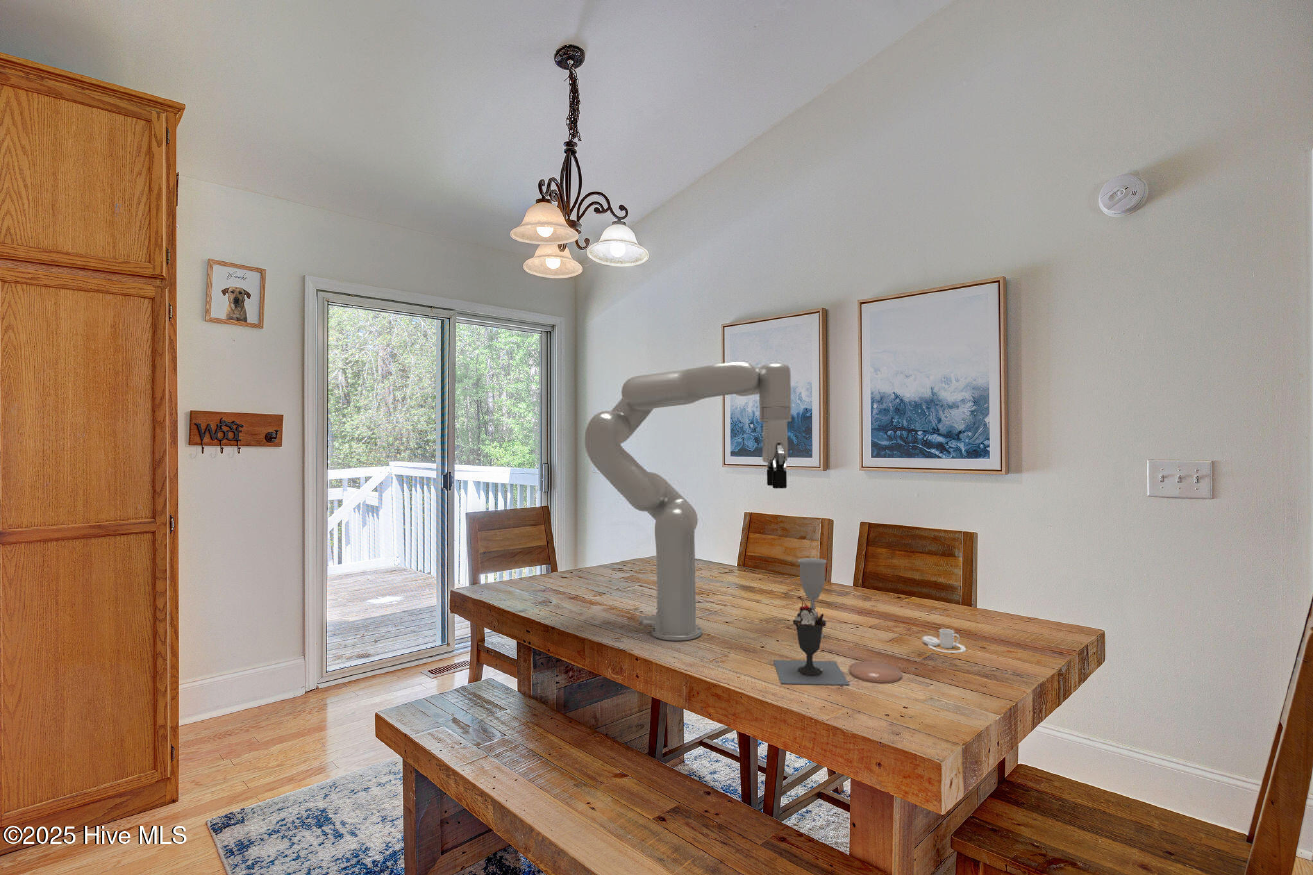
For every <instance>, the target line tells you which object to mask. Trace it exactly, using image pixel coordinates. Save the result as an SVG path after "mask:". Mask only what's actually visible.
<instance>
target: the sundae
mask: <svg viewBox="0 0 1313 875" xmlns="http://www.w3.org/2000/svg"><path fill="white" fill-rule="evenodd" d="M797 598H798V599H799V600H801V604H802V605H801V606H800V607H799V612H797V613H796V616H795V617H794V619H793V620H792V624H793V625H794V626H795V627H796V632H797V633H796V634H797V639H798V646H799V648H800V650H801V651H802V652H803V653H805V655H806V661H807V662H806V665H805V666H803V667H799V668H798V669H797V671H798V672H799V673H801V674H804V675H809V676H815V675H820V674H821V673H822V670H821V669H819V668H817V667H814V665H813V661H814V660H813V656H814V655H815V654H816V653H817V652H818V651H819V649H820V648H821V647H820V646H821V642H822V638H821V634H823V628H824V627H827V626H826V625H827V620H825V619H824V613H821V614H820V615H819V614H818V611H817V610H816V609H815V610H814V609H813V608H810V606H809V605H808V604H806V601H805V600H804V599H803V597H802V596H799V595H798V596H797Z"/></svg>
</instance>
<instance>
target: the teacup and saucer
mask: <svg viewBox="0 0 1313 875" xmlns="http://www.w3.org/2000/svg"><path fill="white" fill-rule="evenodd" d="M938 632H939V634H938V635H939V639H938V638H936V637H935V636H931V635H925V636H923V637H922V641H923V643H924V644H926V645H927V646H928V647H929V648H930V649H933V651H934V650H935V651H938V652H943V653H951V654H952V653H953V654H956V653H957V654H958V653H963V652H965V651H966V650H967V648H966V647H965V646H964V645H963V644H960V643H959V641H960V636H959V634H957V633H955V630H954V629H950V628H940V629H938ZM955 636H956V637H957V640H956V642H955ZM939 645H940V646H941V647H942V648H944V649H952V648H954V647H955V646H958V647H959V648H960V649H959V650H943V649H939V648H936V647H938V646H939Z"/></svg>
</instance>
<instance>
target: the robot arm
mask: <svg viewBox="0 0 1313 875" xmlns="http://www.w3.org/2000/svg"><path fill="white" fill-rule="evenodd" d="M791 378H792V376H791V368H790V366H789V365H788V364H785V363H767V364H763V365H761V366H756V367H755V366H754V365H753V364H751V363H749V362H747V361H733V362H725V363H724V362H723V363H717V364H712V365H711V364H710V365H704V366H699V367H693V368H687V369H680V370H674V371H665V372H657V373H651V374H641V375H637V376H632V377H630V378H627V379H626V381H625V382H624V383H623V385H622V387H621V398H620V399H619V400H618V402H617V403H616V405H615V406H614V407H613V408H612V409H611V410H605V411H604V410H603V411H600V412H598V413H596V414H594V415H593V416H592V418H590V419H589V421H588V423H587V426H586V428H585V432H584V433H585V434H584V447H585V451H586V454H587V456H588V458H589V460H590V462H591V463H592V465H593V466H594V467H595V468H596V470H598V472H599V473H600V474H601V475H602V476H603V477H604V478H605V479H606V480H607V481H608V482H609V483H610V484H611V485H612V486H613V487H614V489H615V490H616V491H617V492H618V493H620V495H622V497H623V498H624V499H625V500H626V502H628V503H629V504H630V506H632V507H633V508H634V509H635V510H637V511H640V512H643V513H645V512H646V513H648V515H650V516H651V518H653V520H655V524H654V538H655V539H654V541H655V554H656V555H655V556H656V557H655V559H656V563H655V564H656V568H655V569H656V612H655V614H651V615H650V616H649V615H638V616H639V617H638V623H639V625H642V626H645V627H648V626H651V628H650V634H651V636H652V637H654V638H656V639H659V640H663V641H674V642H675V641H676V642H678V641H690V640H693V639H696V638H699V637H701V635H703V628H702V627H701V626H700V625H699V624H697V619H696V618H697V617H696V616H697V615H696V613H697V610H696V608H697V607H696V606H697V604H696V603H697V602H696V596H697V595H696V591H697V590H696V549H695V548H696V544H695V543H696V542H695V532H696V531H695V530H696V529H697V526H698V520H699V519H698V514H697V512H696V510H695V508H694V507H693V506H692V504H690V502H689V501H688V500H687V499H686V498H685V497H684V496H683V495H682V494H681V493H680V492H679V491H678V490H677V489H676V488H674V486H673V485H672V484H671V483H670V482H668V480H666V479H665V478H664V477H663V476H662V475H660V474H658V473H656V472H651V471H648V470H646V469H645V468H644V467H643V466H642V465H641V464H640V463H639V462H638V461H637V460H636V459H635V457H633V456H632V454H630V453H629V452H628V451H626V449H625V448H624V447H623V446H622V445H621V444H624V443H626V441H627V440H629V439H630V438H631V437H632V435H633V434H635V432H636V431H637V429H639V427H640V426H641V425H642V424H643V422H644V421H645V420H646V419H647V418H648V417H649V415H650V414H651V413H652V412H653V410H654V409H659V408H666V407H667V408H669V407H675V406H685V405H689V404H694V403H695V402H698V401H700V400H704V399H707V398H715V397H722V396H731V395H736V396H737V397H738V396H739V397H748V396H755V395H758V404H759V411H758V412H759V422H760V423H763V425H762V427H763V428H762V457H761V458H762V459H761V460H762V461H763V462H764V463H766V464H767V465H766V468H767V469H766V485H767V486H770V487H772V489H786V488H787V486H788V484H787V482H788V479H787V478H788V476H787V465H786V463H787V461H788V458H789V456H788V455H789V454H788V452H789V450H788V448H789V446H788V444H789V442H788V439H789V438H788V422H792V391H791V390H792V386H791V385H792V384H791V382H792V381H791Z"/></svg>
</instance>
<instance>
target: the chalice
mask: <svg viewBox="0 0 1313 875" xmlns="http://www.w3.org/2000/svg"><path fill="white" fill-rule="evenodd" d="M797 561H798V564H799V576H800V577H799V580H800V584H801V587H802V590H803V593H804V594H805V596H806V598H807V599H808V600H809V601H810V606H809V607H810V608H813V609H814V610H815V611H816V609H817V607H816V603H815V602H816V600H818V599H819V598H820V596H821V593H822V591H823V589H824V586H825V583H826V563H828V562H827V560H825V559H822V558H816V557H815V558H813V557H811V558H810V557H806V558H805V557H804V558H799V559H798V560H797ZM824 637H825V636H824V634H823V633H822V634H821V639H823V638H824Z"/></svg>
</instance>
